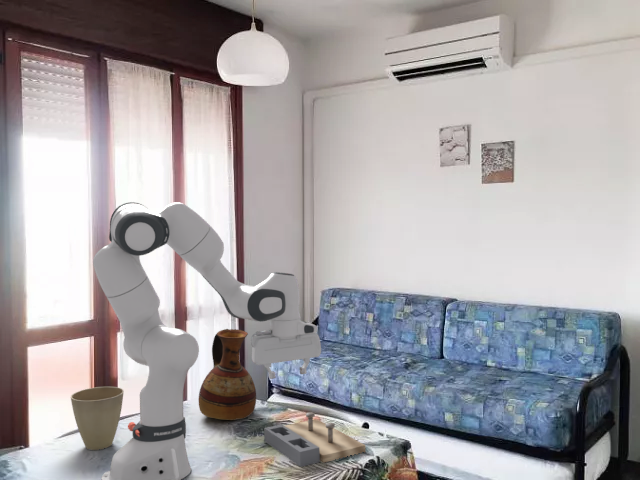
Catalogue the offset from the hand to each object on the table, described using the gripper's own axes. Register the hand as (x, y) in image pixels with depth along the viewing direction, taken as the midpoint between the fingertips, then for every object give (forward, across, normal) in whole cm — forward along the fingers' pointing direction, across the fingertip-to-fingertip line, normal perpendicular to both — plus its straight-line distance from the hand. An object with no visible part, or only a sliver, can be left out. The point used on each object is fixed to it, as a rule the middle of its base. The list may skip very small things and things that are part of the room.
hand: (287, 375), depth 170 cm
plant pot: (+21, -51, +29) cm, 62 cm away
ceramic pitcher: (+22, -9, +39) cm, 46 cm away
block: (+22, 0, -1) cm, 22 cm away
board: (+22, +10, +2) cm, 24 cm away
